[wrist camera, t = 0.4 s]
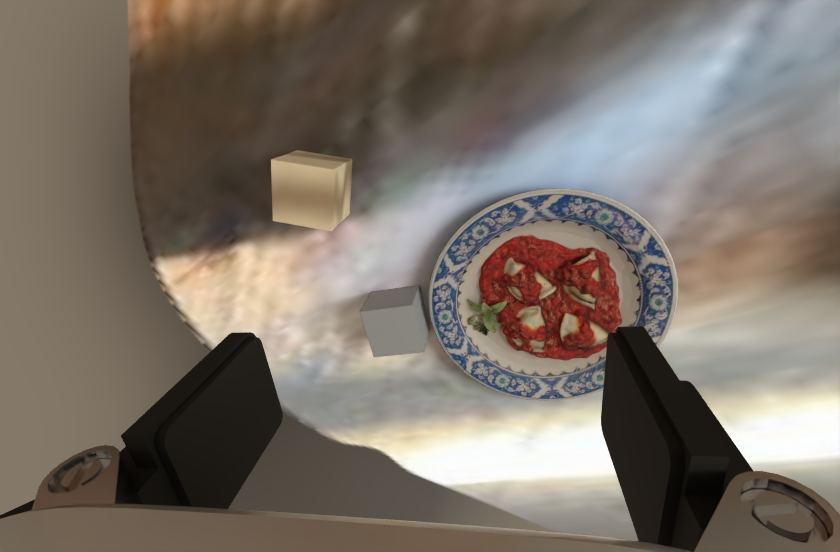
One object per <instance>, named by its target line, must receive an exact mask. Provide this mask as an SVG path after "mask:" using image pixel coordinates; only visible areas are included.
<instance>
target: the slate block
mask: <svg viewBox="0 0 840 552" xmlns="http://www.w3.org/2000/svg"><path fill="white" fill-rule="evenodd" d="M360 315H361V318H362V321H363V325H364V328H365V331H366V334H367V337H368V340H369V344H370V347H371V350H372V353H373V356H374V357H381V356H391V355H401V354H411V353H421V352H425V347H426V343H427V339H428V335H429V331H430V327H429V323H428V319H427V314H426V310H425V306H424V302H423V298H422V294H421V290H420V286H419V285H417V286H410V287H403V288H395V289H388V290H381V291H374V292H371V293H370V295H369V296H368V298H367V300H366V301H365V303H364V305H363V307H362V308H361V310H360Z"/></svg>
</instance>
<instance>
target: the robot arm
mask: <svg viewBox="0 0 840 552" xmlns="http://www.w3.org/2000/svg"><path fill="white" fill-rule="evenodd" d="M282 414H283V413H282V409H281V406H280V402H279V399H278V395H277V392H276V389H275V385H274V382H273V379H272V375H271V372H270V369H269V365H268V362H267V359H266V355H265V352H264V349H263V345H262V342H261V340H260V339H259V338H257V337H256V336H255V335H254V334H253V333H231V334H229V335H228V336H227V337H226V338H225V339H224V340H223V341H222V342H221V343H219V344H218V345H217V346H216V347H215V348H214V349H213V350H212V351H211V352H210V353H209V354H208V355H207V356H206V357H205V358H203V359H202V361H200V362H199V363H198V364H197V365H196V366H195V367H194V368H193V369H192V370H191V371H190V372H188V373H187V375H185V376H184V377H183V378H182V379H181V380H180V381H179V382H178V383H177V384H176V385H175V386H174V387H172V389H170V390H169V391H168V392H167V393H166V394H165V395H164V396H163V397H162V398H161V399H160V400H159V401H157V403H155V404H154V405H153V406H152V407H151V408H150V409H149V410H148V411H147V412H146V413H145V414H144V415H143V416H141V417H140V418H139V419H138V420H137V421H136V422H135V423H134V424H133V425H132V426H131V427H130V428H129V429H128V430H127V431H125V432H124V433H123V434H122V435H121V437H122V439H123V441H124V443H125V445H126V447H125V448H124V449H123V450H122V451H121V452H119V450H118V449H117V448H116V447H114V446H108V445H104V446H97V447H93V448H90V449H87V450H84V451H82V452H80V453H78V454H75V455H73V456H72V457H70V458H68V459H67V460H65V461H64V462H62V463H60V464H59V465H58V466H57V467H55V468H54V469H53V470H52V471H51V472H50V473H49V474H48V475H47V476H46V477H45V478H44V479H43V481H42V483H41V485H40V486H39V488H38V492H37V495H36V498H35V500H33V501H30V502H28V503H26V504H24V505H22V506H20V507H18V508H15V509H13V510H11V511H9V512H7V513H5V514H2V515H0V552H840V514H839V513H838V512H837V511H836V510H835V509H834V508H833V507H832V506H831V505H830V503H829V502H828V501H826V500H825V499H824V498H822V497H821V496H820V495H818V494H817V493H816V492H814V491H813V490H811V489H810V488H808V487H806V486H804V485H802V484H800V483H798V482H797V481H795V480H792V479H789V478H786V477H784V476H781V475H778V474H773V473H768V472H763V471H753V470H752V468H751V467H750V466H749V464H748V463H747V461H746V460H745V458H744V457H743V456H742V454H741V453H740V451H739V450H738V448H737V447H736V445H735V444H734V443H733V441H732V440H731V438H730V437H729V435H728V434H727V433H726V431H725V430H724V428H723V427H722V425H721V424H720V423H719V421H718V420H717V418H716V417H715V415H714V414H713V413H712V411H711V410H710V408H709V407H708V405H707V404H706V402H705V401H704V400H703V398H702V397H701V395H700V394H699V392H698V391H697V390H696V388H695V387H694V386H693V385H692V383H691V382H688V381H680V380H679V379H678V377H677V376H676V374H675V373H674V371H673V370H672V368H671V367H670V365H669V364H668V362H667V361H666V359H665V358H664V356H663V355H662V353H661V352H660V350H659V349H658V347H657V346H656V344H655V343H654V341H653V340H652V338H651V337H650V335H649V334H648V332H647V331H646V329H645V328H644V327H643V326H625V327H617V328H616V332H615V333H609V334H608V337H607V349H606V362H605V375H604V388H603V400H602V413H601V426H602V432H603V435H604V438H605V441H606V444H607V447H608V450H609V453H610V456H611V459H612V462H613V465H614V468H615V471H616V474H617V477H618V480H619V483H620V486H621V489H622V492H623V495H624V498H625V501H626V504H627V507H628V510H629V513H630V516H631V519H632V522H633V525H634V528H635V531H636V534H637V537H638V540H639V541H631V540H623V539H616V538H608V537H599V536H588V535H577V534H566V533H555V532H543V531H532V530H521V529H508V528H495V527H481V526H468V525H454V524H440V523H426V522H414V521H400V520H384V519H371V518H357V517H342V516H327V515H312V514H297V513H282V512H267V511H250V510H234V509H228V508H229V506H230V505H231V503H232V501H233V499H234V498H235V497H236V495H237V493H238V492H239V490H240V489H241V487H242V485H243V483H244V482H245V480H246V479H247V477H248V476H249V474H250V473H251V471H252V469H253V468H254V466H255V465H256V463H257V461H258V460H259V458H260V457H261V455H262V453H263V452H264V450H265V449H266V447H267V445H268V444H269V442H270V441H271V439H272V437H273V436H274V434H275V433H276V431H277V429H278V428H279V426H280V424H281V422H282V417H283V415H282Z"/></svg>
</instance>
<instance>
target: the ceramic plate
mask: <svg viewBox="0 0 840 552" xmlns="http://www.w3.org/2000/svg"><path fill="white" fill-rule="evenodd" d="M677 301H678V280H677V274H676V269H675V265H674V262H673V259H672V256H671V254H670V252H669V250H668V248H667V246H666V244H665V243H664V241H663V240H662V238H661V236H660V235H659V234H658V233H657V232H656V230H655V229H654V228H653V227H652V226H651V225H650V224H649V223H648V222H647V221H646V220H645V219H644V218H643V217H641V216H640V215H639V214H637V213H636V212H635V211H633V210H632V209H630V208H628V207H627V206H625V205H623V204H621V203H619V202H617V201H615V200H613V199H611V198H608V197H605V196H602V195H599V194H595V193H591V192H587V191H581V190H574V189H542V190H535V191H529V192H525V193H521V194H517V195H514V196H511V197H508V198H505V199H503V200H501V201H499V202H496V203H494V204H492V205H490V206H489V207H487V208H485V209H483V210H482V211H480V212H479V213H478V214H476V215H475V216H473V217H472V218H470V219H469V220H468V221H467V222H466V223H465V224H464V225H463V226H462V227H461V228H460V229H459V230H458V231H457V232H456V233H455V234H454V235H453V236H452V237H451V239H450V240H449V241H448V243H447V244H446V246H445V247H444V249H443V251H442V252H441V254H440V256H439V258H438V260H437V262H436V264H435V267H434V270H433V273H432V277H431V281H430V287H429V310H430V317H431V322H432V325H433V328H434V331H435V333H436V336H437V338H438V340H439V342H440V344H441V345H442V347H443V349H444V350H445V352H446V353H447V354H448V356H449V357H450V358H451V359H452V360H453V362H454V363H455V364H456V365H457V366H458V367H459V368H460V369H461V370H462V371H463V372H465V373H466V374H467V375H469V376H470V377H472V378H473V379H475V380H476V381H478V382H479V383H481V384H483V385H485V386H487V387H489V388H491V389H493V390H495V391H498V392H500V393H503V394H507V395H510V396H514V397H519V398H524V399H531V400H544V401H555V400H565V399H572V398H578V397H584V396H587V395H590V394H593V393H596V392H599V391H602V390H603V388H604V375H605V362H606V349H607V337H608V334H609V333H615V332H616V328H617V327H625V326H643V327H644V328H645V329H646V331H647V332H648V334H649V335H650V337H651V338H652V340H653V341H654V343H655V344H656V346H657V347H658V348H659V346H660V345H661V343H662V342H663V341H664V339H665V337H666V335H667V333H668V331H669V329H670V326H671V324H672V322H673V318H674V315H675V312H676V306H677Z"/></svg>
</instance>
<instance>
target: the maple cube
mask: <svg viewBox="0 0 840 552" xmlns="http://www.w3.org/2000/svg"><path fill="white" fill-rule="evenodd" d="M351 175H352V159H349V158H342V157H336V156H330V155H324V154H317V153H311V152H305V151H298V150H297V151H294V152H291V153H288V154H286V155H283V156H280V157H277V158H274V159H271V177H272V209H273V221H276V222H282V223H288V224H294V225H299V226H305V227H311V228H316V229H322V230H328V231H332V230H333V229H334V228H335V227H336V226H337V225H338V224H339V223H340V222H341V221H342V220H344V219H345V218H346V217H347V216H348V215H349V214H350V194H351Z"/></svg>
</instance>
